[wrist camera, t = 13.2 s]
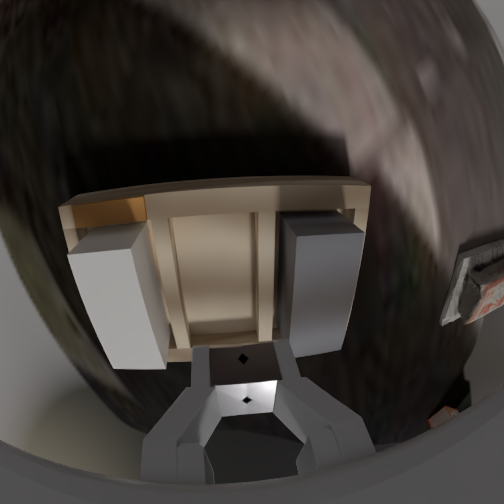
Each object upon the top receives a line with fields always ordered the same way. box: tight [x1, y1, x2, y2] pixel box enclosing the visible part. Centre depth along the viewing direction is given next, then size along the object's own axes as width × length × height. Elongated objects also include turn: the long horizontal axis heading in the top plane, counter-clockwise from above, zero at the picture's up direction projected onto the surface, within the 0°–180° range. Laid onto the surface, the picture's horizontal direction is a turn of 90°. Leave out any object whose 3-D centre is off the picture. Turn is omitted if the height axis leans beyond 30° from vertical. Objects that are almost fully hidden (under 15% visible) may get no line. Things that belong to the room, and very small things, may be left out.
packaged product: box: [439, 239, 504, 326], centre depth 25 cm, size 18×5×10 cm
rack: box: [58, 176, 371, 362], centre depth 18 cm, size 13×20×6 cm
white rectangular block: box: [67, 222, 171, 369], centre depth 17 cm, size 9×4×4 cm, turn 2°
